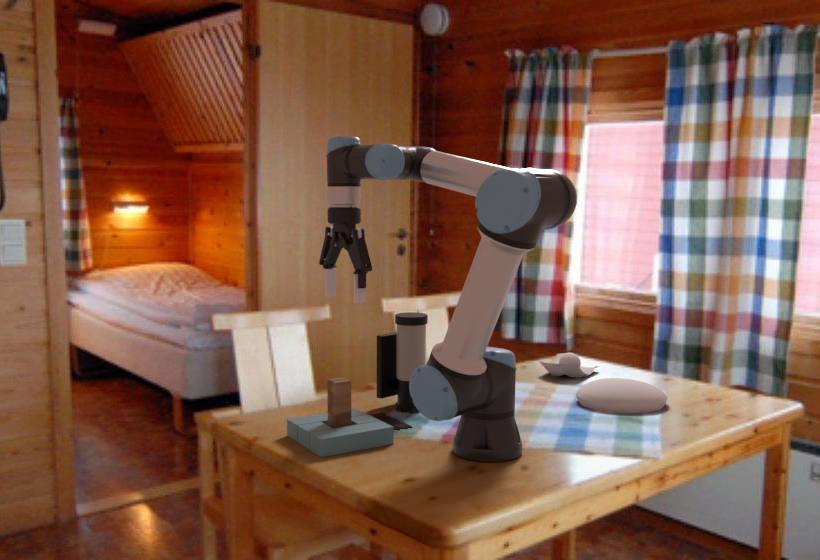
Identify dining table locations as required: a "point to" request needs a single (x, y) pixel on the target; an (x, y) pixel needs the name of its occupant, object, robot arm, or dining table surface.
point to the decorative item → (621, 396)
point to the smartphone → (391, 421)
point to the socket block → (339, 433)
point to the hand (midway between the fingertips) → (344, 299)
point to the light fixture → (401, 358)
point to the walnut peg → (339, 402)
